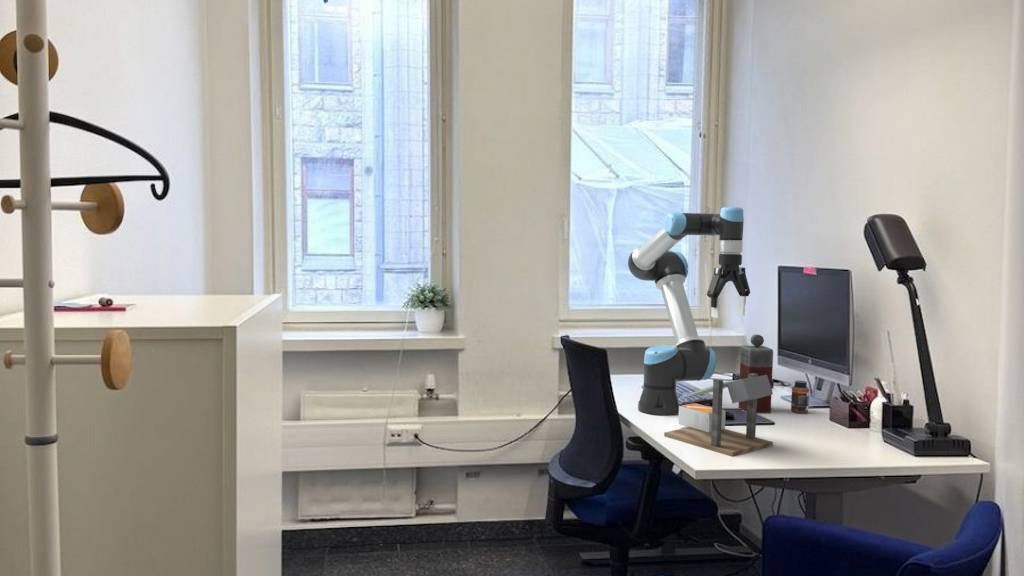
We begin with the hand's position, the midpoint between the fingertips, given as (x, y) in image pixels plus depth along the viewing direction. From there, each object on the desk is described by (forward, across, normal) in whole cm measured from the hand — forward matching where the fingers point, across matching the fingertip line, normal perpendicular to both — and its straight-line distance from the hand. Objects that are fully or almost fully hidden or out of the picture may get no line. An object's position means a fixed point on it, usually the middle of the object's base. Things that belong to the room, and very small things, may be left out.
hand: (728, 316), depth 258 cm
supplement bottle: (+37, -37, +5) cm, 52 cm away
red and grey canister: (+37, -26, -7) cm, 46 cm away
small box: (+32, +14, +9) cm, 36 cm away
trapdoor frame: (+37, +20, +13) cm, 44 cm away
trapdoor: (+24, +20, +17) cm, 36 cm away
